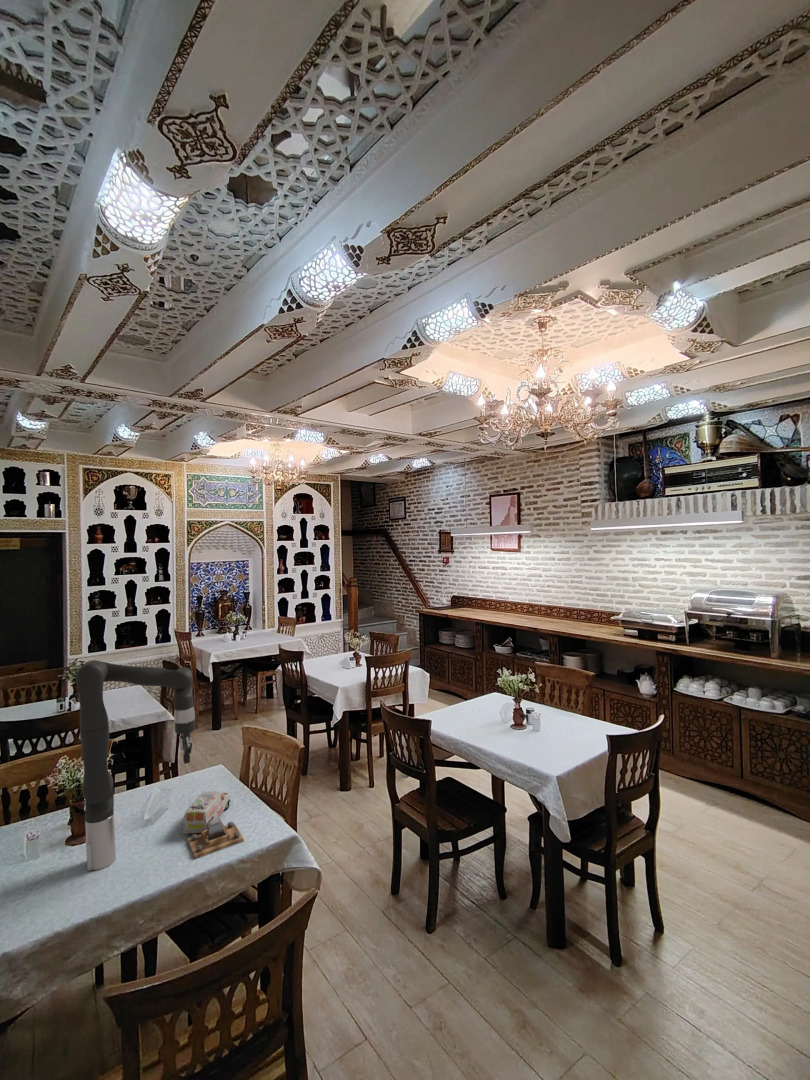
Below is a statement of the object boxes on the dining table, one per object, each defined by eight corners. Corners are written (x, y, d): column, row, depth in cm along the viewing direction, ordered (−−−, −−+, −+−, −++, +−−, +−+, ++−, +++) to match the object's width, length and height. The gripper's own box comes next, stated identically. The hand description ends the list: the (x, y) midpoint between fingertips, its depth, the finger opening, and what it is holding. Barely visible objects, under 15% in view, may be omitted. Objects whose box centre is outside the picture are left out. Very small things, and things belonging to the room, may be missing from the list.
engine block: (209, 842, 198) (209, 825, 198) (207, 838, 201) (206, 821, 201) (223, 838, 201) (222, 821, 201) (220, 833, 204) (219, 816, 204)
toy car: (231, 804, 229) (230, 782, 229) (207, 836, 205) (206, 811, 205) (208, 805, 230) (207, 783, 230) (181, 837, 205) (180, 812, 205)
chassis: (195, 859, 190) (194, 850, 190) (187, 841, 202) (187, 833, 202) (243, 841, 200) (243, 833, 200) (233, 825, 212) (233, 817, 212)
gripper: (171, 717, 206) (173, 759, 206) (177, 726, 195) (179, 771, 195) (191, 712, 210) (193, 754, 210) (198, 721, 199) (200, 765, 199)
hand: (186, 762), depth 202 cm, fingers closed
